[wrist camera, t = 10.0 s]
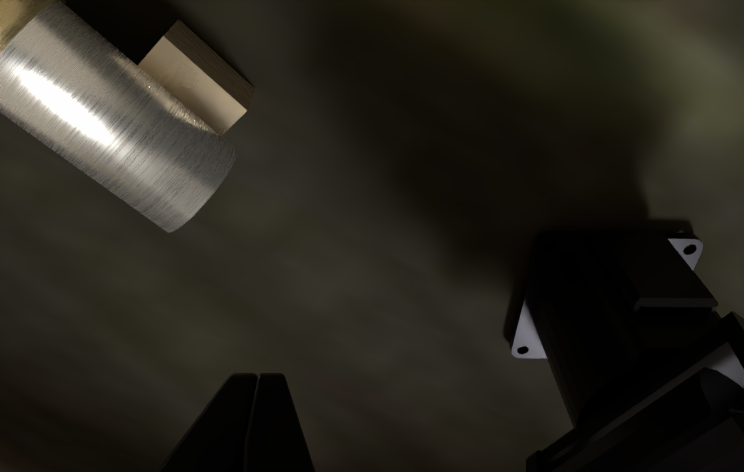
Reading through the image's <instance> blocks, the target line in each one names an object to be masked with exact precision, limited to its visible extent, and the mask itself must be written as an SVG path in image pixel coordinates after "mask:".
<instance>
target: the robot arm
mask: <svg viewBox="0 0 744 472" xmlns="http://www.w3.org/2000/svg"><path fill="white" fill-rule="evenodd" d="M550 242H553V244H552V245H551V246H549V247H544V246H545V245H546V244H547V243H550ZM688 245H690V246H689V247H688V248H685V247H686V246H688ZM684 248H685V249H684ZM702 250H703V243H702V242H701V240H700V239H699V238H698V237H697V236H696V235H695V234H691V233H663V232H661V231H617V230H600V231H597V232H582V231H547V232H544V233H541V234H540V235H539V236H538V237H537V238H536V240H535V242H534V246H533V251H532V255H531V259H530V263H529V267H528V271H527V275H526V279H525V283H524V287H523V291H522V295H521V299H520V303H519V307H518V311H517V315H516V319H515V323H514V327H513V331H512V335H511V339H510V343H509V346H510V350H511V353H512V355H513V356H515V357H516V358H547V359H548V362H549V364H550V367H551V370H552V372H553V375H554V378H555V380H556V383H557V385H558V388H559V391H560V393H561V396H562V398H563V401H564V404H565V406H566V409H567V411H568V414H569V417H570V419H571V422H572V424H573V427H574V428H573V429H572V430H571V431H569V432H568V433H566V434H565V435H564V436H562V437H561V438H559V439H558V440H556V441H555V442H554V443H552V444H551V445H549V446H548V447H547V448H545V449H544V450H542V451H539V450H538V451H536V452H535V453H533V454H532V455H531V456H529V457H528V458H527V459H526V472H744V319H743V318H742V317H740V316H739V315H738V314H736V313H735V312H733V311H732V312H730V313H729V314H728V315H726V316H725V317H723V318H721V317H720V316H719V314H718V313H717V312H716V308H717V306H718V302H717V301H716V299H715V298H714V297H713V295H712V294H711V293H710V292H709V290H708V289H707V288H706V286H705V285H704V284H703V283H702V281H701V280H700V279H699V278H698V276H697V275H696V274H695V273H694V271H693V270H694V268H695V265H696V263H697V261H698V259H699V257H700V254H701V252H702ZM521 346H524V347H521ZM519 347H521V348H519ZM157 472H315V469H314V466H313V463H312V460H311V457H310V454H309V450H308V447H307V444H306V441H305V438H304V435H303V432H302V428H301V425H300V422H299V419H298V416H297V413H296V410H295V407H294V403H293V400H292V397H291V394H290V391H289V388H288V385H287V381H286V378H285V376H284V375H283V374H282V373H261V374H259V376H257V375H256V374H254V373H233V374H231V375H230V376H229V377H228V378H227V379H226V381H225V382H224V383H223V385H222V386H221V387H220V389H219V390H218V391H217V393H216V394H215V395H214V397H213V398H212V399H211V401H210V402H209V403H208V405H207V406H206V407H205V409H204V410H203V411H202V413H201V414H200V415H199V417H198V418H197V419H196V421H195V422H194V423H193V425H192V426H191V427H190V429H189V430H188V431H187V432H186V434H185V435H184V436H183V438H182V439H181V440H180V442H179V443H178V444H177V446H176V447H175V448H174V450H173V451H172V452H171V454H170V455H169V456H168V458H167V459H166V460H165V462H164V463H163V464H162V466H161V467H160V468H159V470H158V471H157Z"/></svg>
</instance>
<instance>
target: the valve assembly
mask: <svg viewBox="0 0 744 472" xmlns="http://www.w3.org/2000/svg"><path fill="white" fill-rule="evenodd" d="M65 2H66V0H0V113H2V114H3V115H5V116H6V117H7V118H9V119H10V120H12V121H13V122H14V123H16V124H17V125H19V126H20V127H21V128H23V129H24V130H26V131H27V132H28V133H30V134H31V135H33V136H34V137H35V138H37V139H38V140H40V141H41V142H42V143H44V144H45V145H46V146H48V147H49V148H51V149H52V150H53V151H55V152H56V153H58V154H59V155H60V156H62V157H63V158H65V159H66V160H67V161H69V162H70V163H72V164H73V165H74V166H76V167H77V168H79V169H80V170H81V171H83V172H84V173H86V174H87V175H88V176H90V177H91V178H93V179H94V180H95V181H97V182H98V183H100V184H101V185H102V186H104V187H105V188H107V189H108V190H109V191H111V192H112V193H114V194H115V195H116V196H118V197H119V198H121V199H122V200H123V201H125V202H126V203H128V204H129V205H130V206H132V207H133V208H135V209H136V210H137V211H139V212H140V213H141V214H143V215H144V216H146V217H147V218H148V219H150V220H151V221H153V222H154V223H155V224H157V225H158V226H160V227H161V228H162V229H164V230H165V231H167V232H168V233H170V232H173V231H175V230H177V229H178V228H180V227H181V226H182V225H184V224H185V223H186V222H187V221H188V220H189V219H190V218H191V217H193V216H194V215H195V214H196V213H197V212H198V210H199V209H200V208H201V207H202V206H203V205H204V204H205V203H206V202H207V200H208V199H209V198H210V197H211V196H212V195H213V193H214V192H215V191H216V189H217V188H218V187H219V186H220V184H221V183H222V181H223V180H224V179H225V177H226V176H227V174H228V172H229V171H230V169H231V167H232V166H233V164H234V162H235V159H236V157H237V152H238V151H237V149H235V148H234V147H233V146H232V145H231V144H230V143H228V142H227V141H226V140H225V139H224V138H222V137H221V136H222V135H223V134H224V133H225V132H226V131H227V130H228V129H229V128H230V127H231V126H232V125H233V124H234V123H235V122H236V121H237V120H238V119H239V118H240V117H241V116H242V115H243V114H244V113H245V112H246V111H247V110H248V107H249V104H250V102H251V99H252V96H253V93H254V90H255V88H253V87H252V86H251V85H250V84H249V83H248V82H247V81H246V80H245V79H244V78H243V77H242V76H240V75H239V74H238V73H237V72H236V71H235V70H234V69H233V68H232V67H231V66H230V65H228V64H227V63H226V62H225V61H224V60H223V59H222V58H221V57H220V56H219V55H218V54H217V53H215V52H214V51H213V50H212V49H211V48H210V47H209V46H208V45H207V44H206V43H205V42H203V41H202V40H201V39H200V38H199V37H198V36H197V35H196V34H195V33H194V32H193V31H192V30H190V29H189V28H188V27H187V26H186V25H185V24H184V23H183V22H182V21H181V20H180V19H178V20H177V21H176V22H175V24H174V25H173V26H172V27H171V28H170V29H169V30H168V31H167V32H166V34H165V35H164V36H163V37H162V38H161V39H160V40H159V42H158V43H157V44H156V45H155V46H154V47H153V48H152V50H151V51H150V52H149V53H148V54H147V55H146V56H145V58H144V59H143V60H142V61H141V62H140V63H139V64H138V66H137V65H136V64H135V63H134V62H132V61H131V60H130V59H129V58H128V57H127V56H125V55H124V54H123V53H122V52H121V51H119V50H118V49H117V48H116V47H115V46H114V45H112V44H111V43H110V42H109V41H108V40H106V39H105V38H104V37H103V36H102V35H100V34H99V33H98V32H97V31H96V30H95V29H93V28H92V27H91V26H90V25H89V24H87V23H86V22H85V21H84V20H83V19H82V18H80V17H79V16H78V15H77V14H76V13H74V12H73V11H72V10H71V9H70V8H69V7H67V6H66V5H65Z"/></svg>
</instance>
